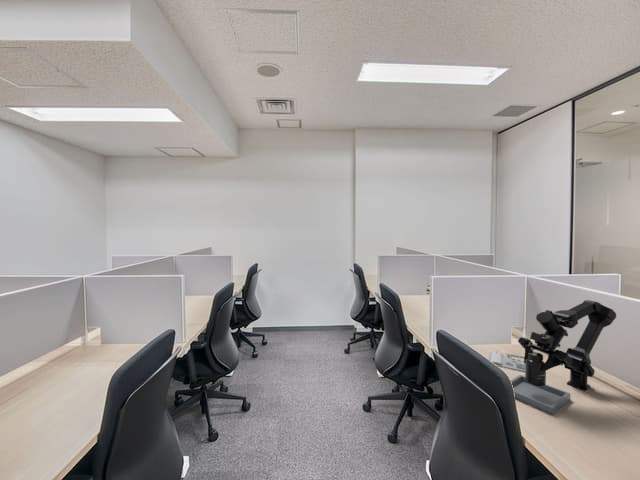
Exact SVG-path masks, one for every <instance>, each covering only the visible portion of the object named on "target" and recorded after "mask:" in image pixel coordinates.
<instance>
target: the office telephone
mask: <svg viewBox="0 0 640 480" xmlns="http://www.w3.org/2000/svg"><path fill="white" fill-rule="evenodd" d="M511 357H514V358H511ZM519 357H520V358H521V359H524V357H525V355H519V354H514V353H507V352H506V353H505V356H504V354H503V352H500V351H497V350H496V351H495V350H494V351H490V352H489V356H488V360H490V361H491V362H493V363H494V364H496V365H497V366H496V367H499V368H503V367H504V369H509V370H513V371H517V372H523V373H525V363H524V360H521V359H517V358H519ZM515 358H516V359H515Z"/></svg>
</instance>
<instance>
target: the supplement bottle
mask: <svg viewBox="0 0 640 480" xmlns="http://www.w3.org/2000/svg"><path fill="white" fill-rule="evenodd" d="M528 357H529V358H527V359H526V363H525V372H524V374H525V375H524V376H525V379H526V381H527V382H528V383H530V384H532V385H536V386H544V385H545V384H546V385H547V383H546V382H547V381H546V380H547V370H546V371H544V372H542V371H541V369H542V367H543V365H544V364H545V362H546V361H544V355H543V354H542V353H541V352H537V351H533V352H529V355H528Z"/></svg>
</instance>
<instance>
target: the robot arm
mask: <svg viewBox="0 0 640 480" xmlns="http://www.w3.org/2000/svg"><path fill="white" fill-rule="evenodd" d="M584 317H588V323H587V325H586V327H585V329H584V330H583V333H582V335H581V336H580V338H579V340H578V342H577V344H576V345H575V347H573V348H572V347H568V348H567V350H566V352H565V351H562V350H559V349H557V348H561V344H560V343H561V342H562V340H563V338H564V337H569V334H568V330H567V329H573V328H574V327H575V326H577V325H578V324H579V320H581V319H583V318H584ZM616 318H617V313H616V311H614V309H612V308H609V307H608V306H605V305H603V304H601V303H600V302H599V301H593V300H589V299H586V300H584V301H583V302H582V303H579V304H578V305H576V306H573V307H572V308H569V309H565V310H564V309H562V310H555V311H554V312H553V311H552V310H549V309H546V310H545V311H542V312H539V313H537V314H536V317H535V319H536V321H537V323H539V325H540V326H541V327H542V329H544V330H545V332H544V333H538V332H535V331H531V333H530V337H529V338H526V337H523V336H522V337H519V339H518V340H517V342H518V344H519V345H520V346H521V347H522V348H523V349H524V356H525V357H524V358H523V361H524V363H526V359H527V358H529V357H528V355H529V352H535V351H538V352H539V353H543V354H545V355H547V359H546V360H545V361H544V362H545V364H544V365H543V367H542V369H541V371H542V372H544V371H546V372H547V371H548V370H551V369H553V368H555V367H559V366H562V367H564V369H566V370H570V371H569V375H570V376H569V380H568V381H566V384H567V385H569V386H572V387H575V388H578V389H580V390H582V391H587V390H589V388H590V387H591V385H590V384H588V378H589V377H591V378H592V377H593V376H594V375H595V369H594V368H593V366H592V365H591V363H592V360H591V358H590V354H591V352H592V350H593V348H594V346H595V344H596V342H597V340H598V339H599V336H600V335H601V333H602V331H603V330H604V328H607V327H608V326H610V325H612V323H613V322H614V320H616ZM565 328H567V329H565ZM532 340H533V341H532ZM533 342H534V343H535V344H534V343H533Z"/></svg>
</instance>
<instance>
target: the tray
mask: <svg viewBox="0 0 640 480" xmlns="http://www.w3.org/2000/svg"><path fill="white" fill-rule="evenodd" d="M510 380H511V382H512V385H513V388H514V393H515V398H516V399H515V398H514V399H515V400H517V401H519V402H522V403H524V404H527V405H528V406H530V407H533V408H536V409H538V410H540V411H543V412H545V413H547V414H549V415H551V416H553V415H554V414H556V413H557V412H558V411H559V410H560V409H561V408H563V407H564V406H565V405H566V404H567V403H568V402H570V401H571V393H570V392H567V391H565V390H562V389H559V388H557V387H554V386H551V385H549V384H547V383H546V384H545V385H544V386H536V385H532V384H530V383H528V382H527V381H526V379H525V375H521V374H519V375H517V376H516V377H514V378H512V379H510Z"/></svg>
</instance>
